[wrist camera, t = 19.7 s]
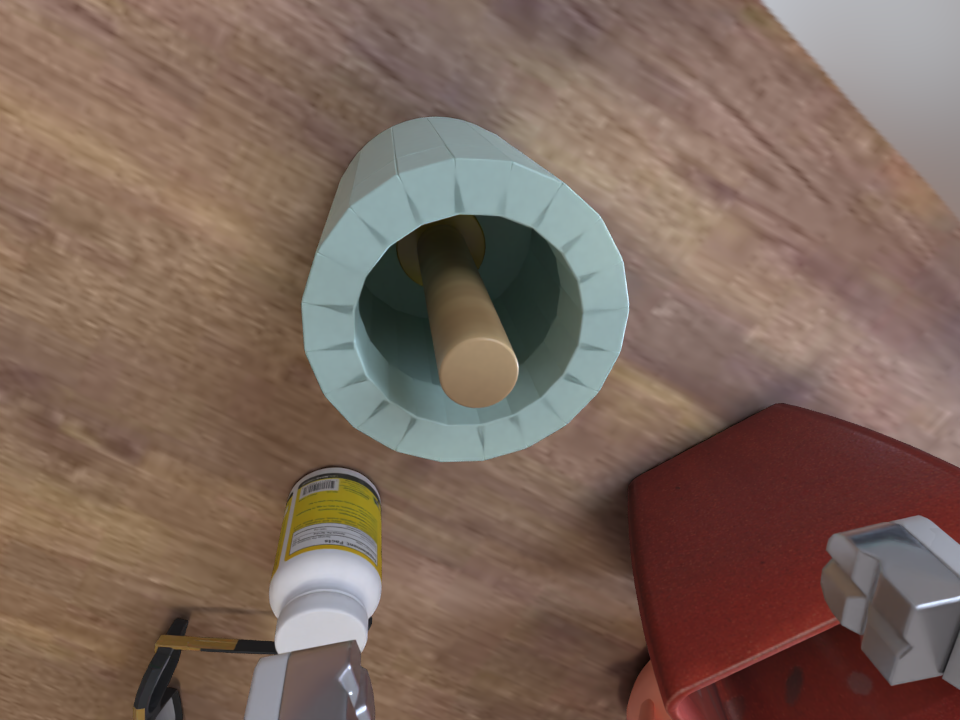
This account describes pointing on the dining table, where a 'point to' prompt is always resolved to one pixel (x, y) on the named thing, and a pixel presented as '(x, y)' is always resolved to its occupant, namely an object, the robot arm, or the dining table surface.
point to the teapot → (646, 698)
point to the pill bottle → (327, 561)
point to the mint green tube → (505, 273)
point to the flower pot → (775, 568)
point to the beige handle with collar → (460, 310)
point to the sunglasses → (154, 700)
